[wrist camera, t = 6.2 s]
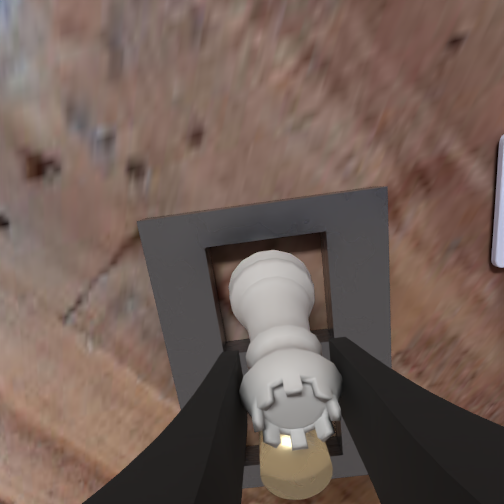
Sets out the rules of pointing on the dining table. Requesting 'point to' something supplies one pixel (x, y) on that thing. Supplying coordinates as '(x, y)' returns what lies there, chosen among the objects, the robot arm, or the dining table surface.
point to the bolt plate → (214, 343)
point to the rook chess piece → (283, 351)
